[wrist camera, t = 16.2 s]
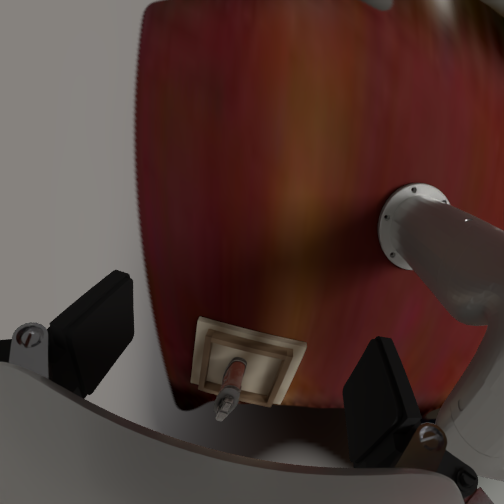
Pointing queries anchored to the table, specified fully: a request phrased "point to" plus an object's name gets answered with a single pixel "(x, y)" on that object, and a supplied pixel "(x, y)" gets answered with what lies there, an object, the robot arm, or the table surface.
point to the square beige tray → (254, 352)
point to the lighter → (230, 388)
